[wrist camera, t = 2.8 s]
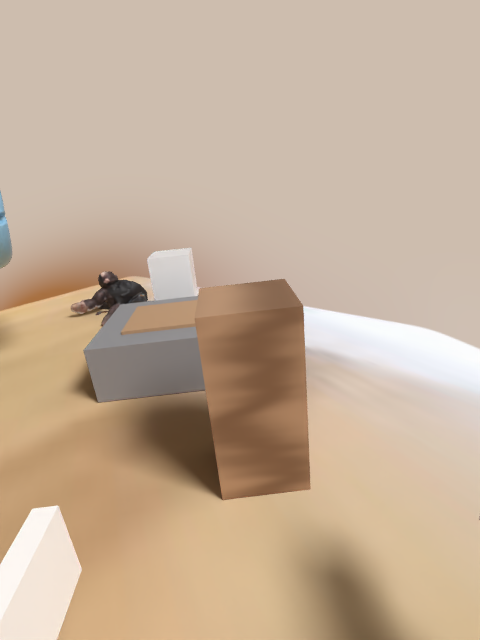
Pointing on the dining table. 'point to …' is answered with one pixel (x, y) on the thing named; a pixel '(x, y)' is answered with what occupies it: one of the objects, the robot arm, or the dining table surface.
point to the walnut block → (255, 386)
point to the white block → (172, 274)
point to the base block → (146, 351)
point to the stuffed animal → (111, 295)
